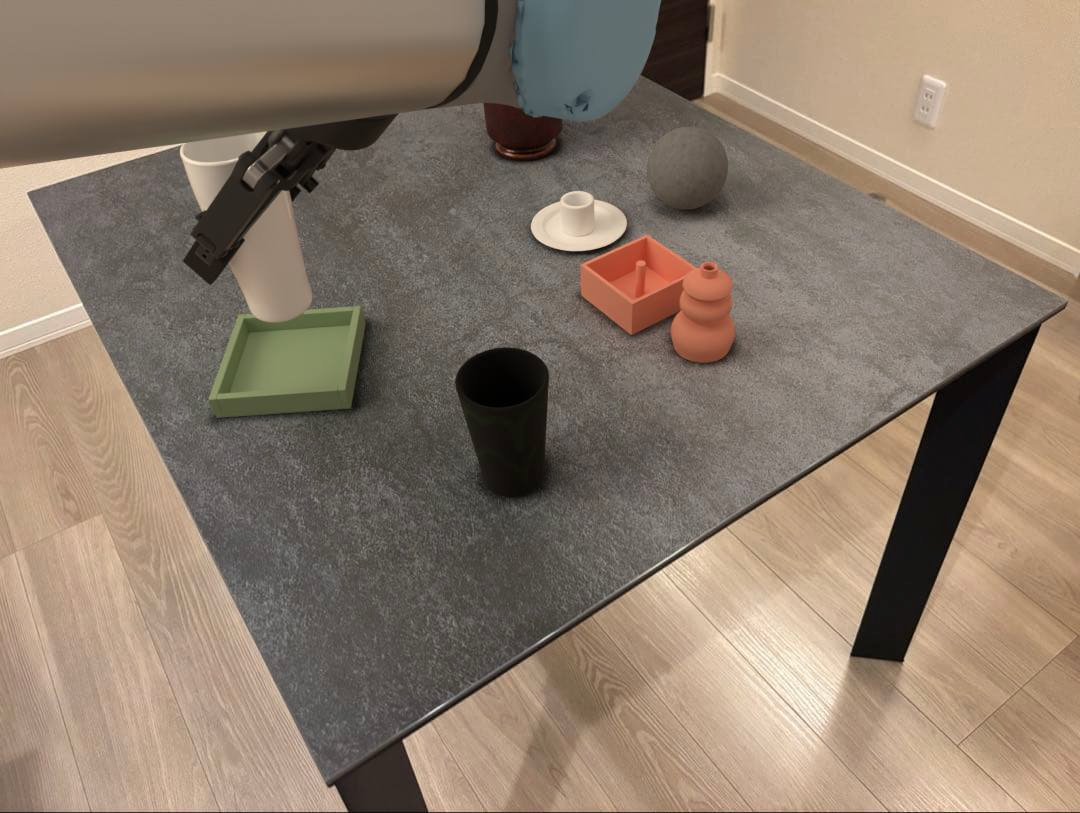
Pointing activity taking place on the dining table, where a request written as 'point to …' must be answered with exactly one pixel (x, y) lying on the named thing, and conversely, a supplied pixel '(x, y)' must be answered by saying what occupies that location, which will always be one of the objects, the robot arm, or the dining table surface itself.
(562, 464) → the dining table surface
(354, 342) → the green shallow square tray
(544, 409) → the cup
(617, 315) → the pottery
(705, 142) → the decorative ball
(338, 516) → the dining table surface
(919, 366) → the dining table surface
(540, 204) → the dining table surface
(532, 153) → the vase
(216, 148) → the drinking glass
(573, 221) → the candle holder
